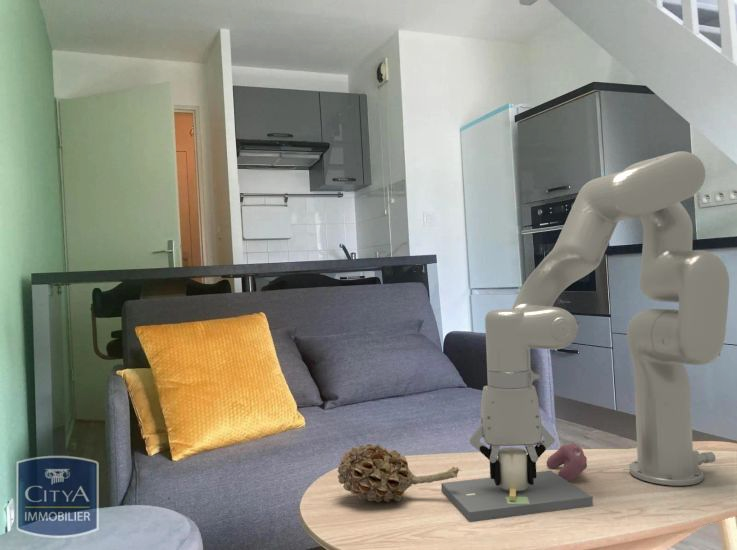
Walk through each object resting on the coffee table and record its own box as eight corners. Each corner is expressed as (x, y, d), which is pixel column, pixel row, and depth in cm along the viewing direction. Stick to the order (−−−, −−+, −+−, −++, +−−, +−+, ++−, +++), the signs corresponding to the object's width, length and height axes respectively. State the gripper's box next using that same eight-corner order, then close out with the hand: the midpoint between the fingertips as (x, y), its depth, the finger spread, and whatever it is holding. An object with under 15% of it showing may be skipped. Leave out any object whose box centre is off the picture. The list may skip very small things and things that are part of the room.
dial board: (551, 478, 113) (550, 470, 113) (593, 505, 99) (592, 496, 99) (441, 491, 108) (441, 482, 108) (469, 521, 94) (469, 511, 94)
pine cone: (336, 513, 100) (334, 454, 100) (340, 492, 110) (338, 439, 110) (466, 509, 100) (463, 450, 100) (458, 488, 109) (456, 435, 109)
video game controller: (579, 492, 109) (594, 458, 109) (556, 481, 110) (572, 447, 109) (564, 474, 119) (579, 443, 119) (543, 464, 119) (558, 433, 119)
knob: (499, 483, 107) (498, 446, 107) (528, 484, 105) (526, 447, 105) (497, 501, 98) (495, 461, 98) (528, 502, 97) (526, 462, 97)
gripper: (552, 374, 107) (557, 474, 107) (458, 377, 108) (462, 476, 108) (564, 382, 99) (568, 489, 99) (462, 384, 100) (466, 491, 100)
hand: (513, 481), depth 103 cm, fingers closed on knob, 5 cm apart
